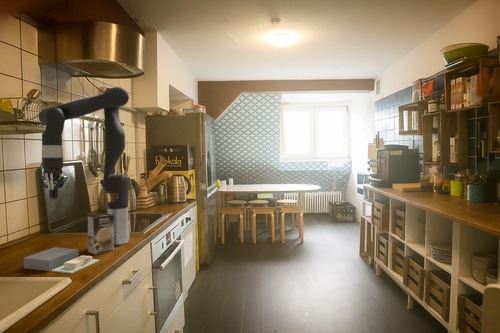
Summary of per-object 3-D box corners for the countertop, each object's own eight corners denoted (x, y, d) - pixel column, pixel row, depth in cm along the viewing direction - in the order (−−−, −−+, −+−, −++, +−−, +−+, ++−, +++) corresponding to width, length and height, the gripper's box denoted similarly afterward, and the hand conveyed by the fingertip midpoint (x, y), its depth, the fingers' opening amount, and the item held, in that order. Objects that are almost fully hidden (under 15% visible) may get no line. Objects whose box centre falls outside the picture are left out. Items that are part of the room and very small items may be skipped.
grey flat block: (55, 256, 134) (55, 247, 134) (78, 259, 131) (78, 249, 131) (23, 268, 120) (23, 257, 120) (49, 271, 117) (49, 260, 117)
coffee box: (94, 254, 136) (93, 217, 136) (87, 251, 141) (86, 215, 140) (114, 249, 144) (114, 214, 143) (107, 247, 148) (107, 212, 147)
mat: (80, 259, 130) (80, 258, 130) (99, 261, 128) (99, 259, 128) (51, 271, 117) (51, 269, 117) (71, 273, 115) (71, 272, 115)
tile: (92, 256, 126) (92, 261, 126) (81, 255, 127) (82, 260, 127) (75, 263, 118) (75, 269, 118) (63, 262, 119) (64, 268, 119)
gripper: (73, 156, 132) (74, 198, 132) (47, 156, 135) (48, 197, 136) (57, 156, 124) (59, 200, 125) (31, 156, 128) (32, 199, 128)
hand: (53, 198), depth 130 cm, fingers closed
